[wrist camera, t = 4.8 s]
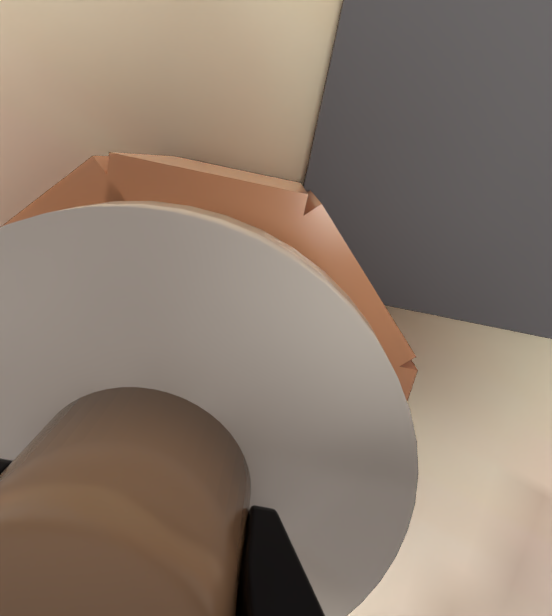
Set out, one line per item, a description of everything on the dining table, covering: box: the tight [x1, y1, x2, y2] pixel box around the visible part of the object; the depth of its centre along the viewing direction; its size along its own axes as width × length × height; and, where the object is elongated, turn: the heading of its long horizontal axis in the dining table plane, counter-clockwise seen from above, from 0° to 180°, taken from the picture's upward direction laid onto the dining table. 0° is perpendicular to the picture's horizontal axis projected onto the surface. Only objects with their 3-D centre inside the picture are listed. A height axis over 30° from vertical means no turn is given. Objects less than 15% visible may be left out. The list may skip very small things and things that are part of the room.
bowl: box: [1, 152, 418, 401], centre depth 12 cm, size 10×10×5 cm
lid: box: [0, 201, 418, 616], centre depth 6 cm, size 9×9×5 cm
